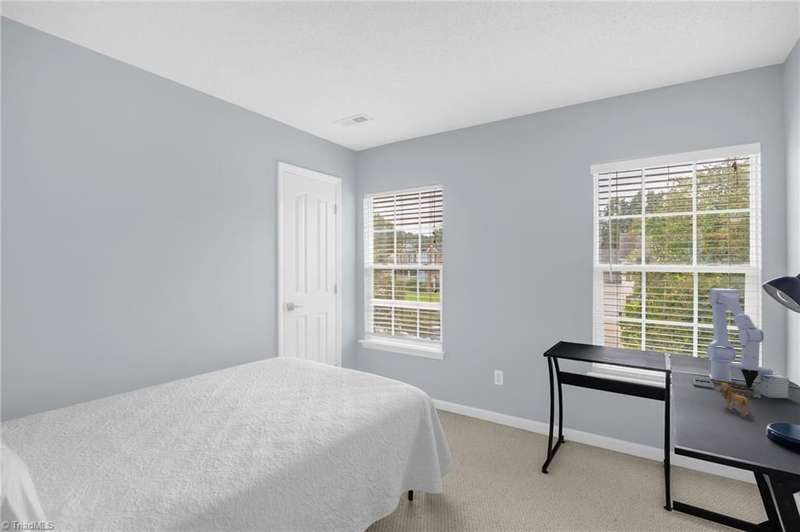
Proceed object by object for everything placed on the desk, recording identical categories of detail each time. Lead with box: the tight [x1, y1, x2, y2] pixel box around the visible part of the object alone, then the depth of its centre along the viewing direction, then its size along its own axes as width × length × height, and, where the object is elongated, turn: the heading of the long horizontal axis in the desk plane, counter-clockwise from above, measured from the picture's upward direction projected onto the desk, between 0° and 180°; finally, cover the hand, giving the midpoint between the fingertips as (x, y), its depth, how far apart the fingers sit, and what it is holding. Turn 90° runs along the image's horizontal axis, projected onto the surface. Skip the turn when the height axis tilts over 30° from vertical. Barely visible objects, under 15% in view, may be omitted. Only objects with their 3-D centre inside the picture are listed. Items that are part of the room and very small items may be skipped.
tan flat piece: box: [713, 379, 761, 399], centre depth 171 cm, size 14×14×2 cm
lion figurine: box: [715, 383, 755, 419], centre depth 145 cm, size 15×5×9 cm, turn 1°
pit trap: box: [692, 378, 715, 390], centre depth 177 cm, size 11×7×1 cm, turn 145°
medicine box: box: [759, 374, 790, 399], centre depth 164 cm, size 8×4×9 cm, turn 88°
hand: (748, 387), depth 168 cm, fingers closed
